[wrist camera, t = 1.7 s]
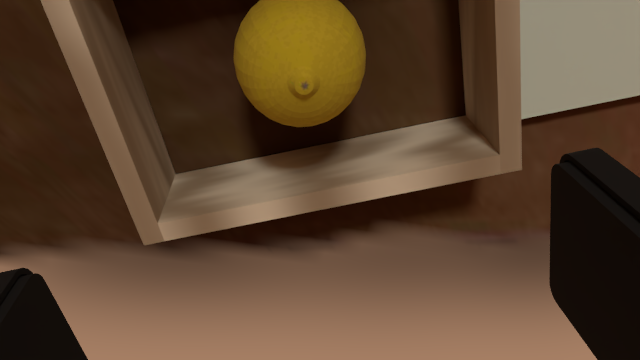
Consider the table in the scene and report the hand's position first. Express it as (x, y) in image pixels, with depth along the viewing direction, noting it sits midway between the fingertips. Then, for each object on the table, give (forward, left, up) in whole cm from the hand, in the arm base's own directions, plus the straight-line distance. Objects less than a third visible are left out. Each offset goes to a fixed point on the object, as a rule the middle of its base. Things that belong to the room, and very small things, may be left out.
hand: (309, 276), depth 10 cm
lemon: (0, 0, -19) cm, 19 cm away
